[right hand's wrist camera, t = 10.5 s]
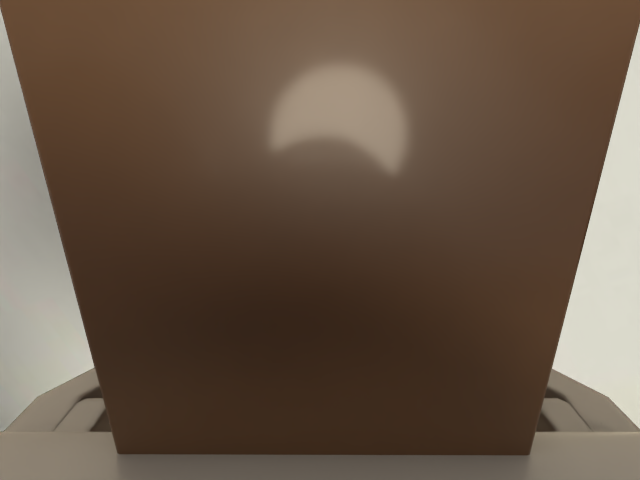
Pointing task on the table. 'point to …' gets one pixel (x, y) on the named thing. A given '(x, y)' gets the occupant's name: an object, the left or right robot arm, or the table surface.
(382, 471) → the right robot arm
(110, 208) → the bar
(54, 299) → the table surface
